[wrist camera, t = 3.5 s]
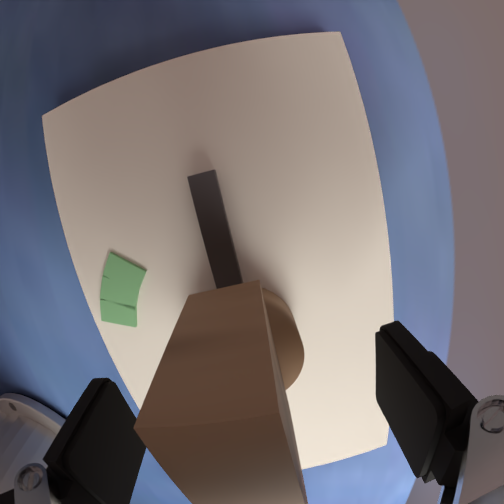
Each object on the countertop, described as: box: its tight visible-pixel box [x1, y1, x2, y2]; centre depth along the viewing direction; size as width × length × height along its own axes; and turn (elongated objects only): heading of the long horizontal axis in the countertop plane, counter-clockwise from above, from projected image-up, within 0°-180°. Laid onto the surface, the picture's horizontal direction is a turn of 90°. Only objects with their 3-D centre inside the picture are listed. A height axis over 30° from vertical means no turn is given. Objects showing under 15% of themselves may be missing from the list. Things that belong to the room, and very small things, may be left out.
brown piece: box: [134, 170, 308, 504], centre depth 8 cm, size 10×4×8 cm, turn 13°
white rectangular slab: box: [42, 32, 394, 469], centre depth 14 cm, size 24×14×2 cm, turn 13°
